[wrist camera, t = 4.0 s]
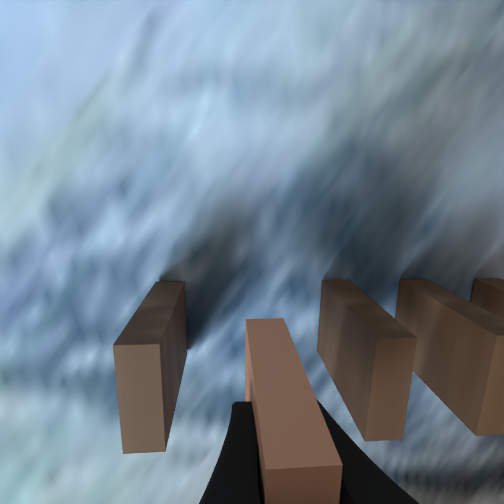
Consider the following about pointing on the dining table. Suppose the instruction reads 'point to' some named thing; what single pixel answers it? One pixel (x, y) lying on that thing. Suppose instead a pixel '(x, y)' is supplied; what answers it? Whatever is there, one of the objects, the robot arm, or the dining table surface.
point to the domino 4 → (489, 295)
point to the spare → (287, 421)
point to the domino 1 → (151, 368)
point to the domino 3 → (456, 352)
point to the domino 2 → (366, 359)
